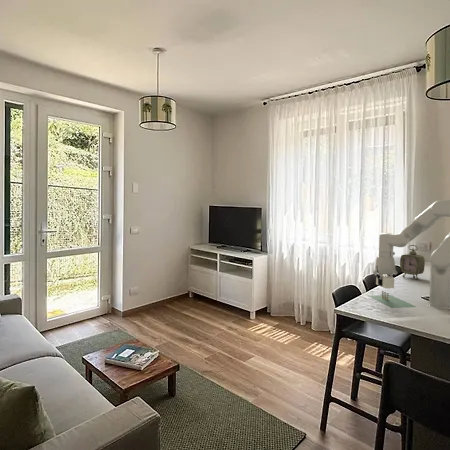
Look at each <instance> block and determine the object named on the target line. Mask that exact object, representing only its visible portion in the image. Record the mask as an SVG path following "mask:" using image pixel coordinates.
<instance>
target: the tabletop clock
mask: <svg viewBox="0 0 450 450" xmlns="http://www.w3.org/2000/svg"><path fill="white" fill-rule="evenodd" d="M412 246H413V247H416V249H414V248H410V247H412ZM408 250H409V253H405V254H401V256H400V260H399V269H400V272H401V273H402V277H403V278H405V275H411V276H412V277H413V279H415V280H417V281H418V280H419V278H418V275H421V274H424V272H425V265H426V264H425V263H426V262H425V257H424V256H423V255H421V254H418V253H417V252H416V251H417V250H418V246H417V245H414V244H410V245H409V246H408Z"/></svg>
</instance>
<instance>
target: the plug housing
mask: <svg viewBox="0 0 450 450" xmlns="http://www.w3.org/2000/svg"><path fill="white" fill-rule="evenodd" d="M375 277H376V276H375ZM375 284H376V285H377V286H379V285H378V278H377V277H376V278H375ZM380 287H382V288H384V289H395V277H391V276H388V274H383V276H382V286H380Z"/></svg>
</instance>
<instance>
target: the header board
mask: <svg viewBox="0 0 450 450" xmlns="http://www.w3.org/2000/svg"><path fill="white" fill-rule="evenodd" d="M369 297H370V298H372V299H374V300H376V301H378V302H380V303H382V304H383V305H386V306H387V307H389V308H392V309H394V308H395V309H396V308H397V309H398V308H416V307H417V306H416V305H413V304H412V303H409V302H407V301H406V300H405V301H404V300H402V299H400V298H398V297H395V296H393V294H392V295H391V294H389V292H386V291H384V290H381V295H379V294H378V295H377V294H376V295H374V294H373V295H369Z"/></svg>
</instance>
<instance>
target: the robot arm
mask: <svg viewBox="0 0 450 450" xmlns="http://www.w3.org/2000/svg"><path fill="white" fill-rule="evenodd" d="M445 217H450V199H437V200H436V201H434V202H433V203H432V204H431V205H429V206H428V207H427V208H426V209H425V210H423V211H422V212H421V213H420V214H419V215H418V216H416V217H415V218H413V221H411V222H410V224H409V225H407V226H406V227H404V228H403V229H402V230H401V231H400V232H398V233H396V234H395V233H390V232H381V233H380V234H379V236H378V237H379V238H378V239H379V241H378V256H377V257H376V259H375V267H374V271H373V272H372V274H373V275H374V276H375V277H377V278H378V285H377V286H379V287H381V286H382V276H383V274H385V275H388V276H391V277H393V278H395V276H396V275H397V274H398V271H397V269H396V261H395V257H394V256H395V254H396V253H395V251H394V247H396V248H404V247H406V246H407V245H408V244H409V243H410V242H411V241H413V240H414V239H416V237H418V236H419V235H421V234H423V233H424V232H426V231H427V230H429V229H430V228H432V226H434V225H435V224H437V223H438V222H439V221H440V220H441V219H442V218H443V219H444V218H445ZM429 258H430V259H429V260H430V261H429V262H430V274H429V276H430V277H429V301H428V302H426V303H425V304H426V305H427V306H429V307H432V308H437V309H443V310H444V309H445V310H449V311H450V232H448V234H447V235H446V236H445V237H444V239H443V240H442V241H441V243H440V244H439V245H438V247H437V248H436V249H434V251H432V252H431V254H430V257H429Z"/></svg>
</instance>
